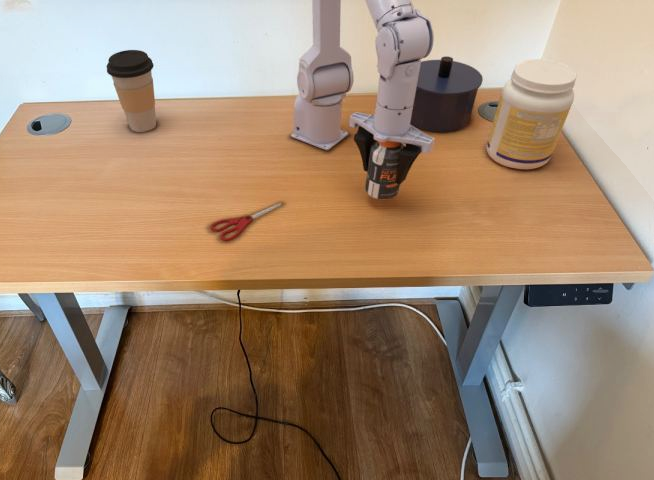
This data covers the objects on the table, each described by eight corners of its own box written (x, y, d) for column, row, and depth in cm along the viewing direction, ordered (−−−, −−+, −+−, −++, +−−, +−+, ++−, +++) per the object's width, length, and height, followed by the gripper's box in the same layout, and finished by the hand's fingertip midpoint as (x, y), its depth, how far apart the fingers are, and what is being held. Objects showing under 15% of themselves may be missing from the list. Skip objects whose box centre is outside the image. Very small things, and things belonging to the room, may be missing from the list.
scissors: (208, 228, 94) (208, 224, 93) (272, 199, 99) (272, 194, 98) (225, 245, 91) (224, 240, 90) (290, 213, 96) (290, 208, 95)
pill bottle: (377, 204, 93) (386, 147, 84) (358, 187, 96) (364, 130, 88) (405, 194, 94) (416, 137, 86) (385, 177, 98) (394, 121, 90)
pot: (394, 125, 115) (400, 87, 109) (410, 95, 124) (416, 58, 118) (463, 138, 111) (473, 99, 105) (474, 105, 120) (484, 68, 114)
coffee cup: (143, 111, 123) (128, 44, 112) (173, 122, 119) (161, 54, 108) (112, 128, 117) (94, 61, 107) (142, 141, 113) (127, 72, 103)
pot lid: (396, 91, 109) (400, 68, 106) (414, 60, 119) (417, 39, 116) (475, 103, 105) (481, 81, 101) (486, 70, 114) (492, 49, 111)
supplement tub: (563, 164, 103) (599, 79, 91) (510, 177, 101) (540, 92, 89) (522, 133, 111) (550, 52, 99) (472, 145, 109) (494, 63, 97)
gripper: (341, 98, 84) (336, 171, 94) (425, 125, 78) (410, 201, 88) (365, 81, 88) (357, 153, 98) (447, 106, 81) (430, 180, 91)
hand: (384, 174), depth 93 cm, fingers closed on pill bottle, 6 cm apart
